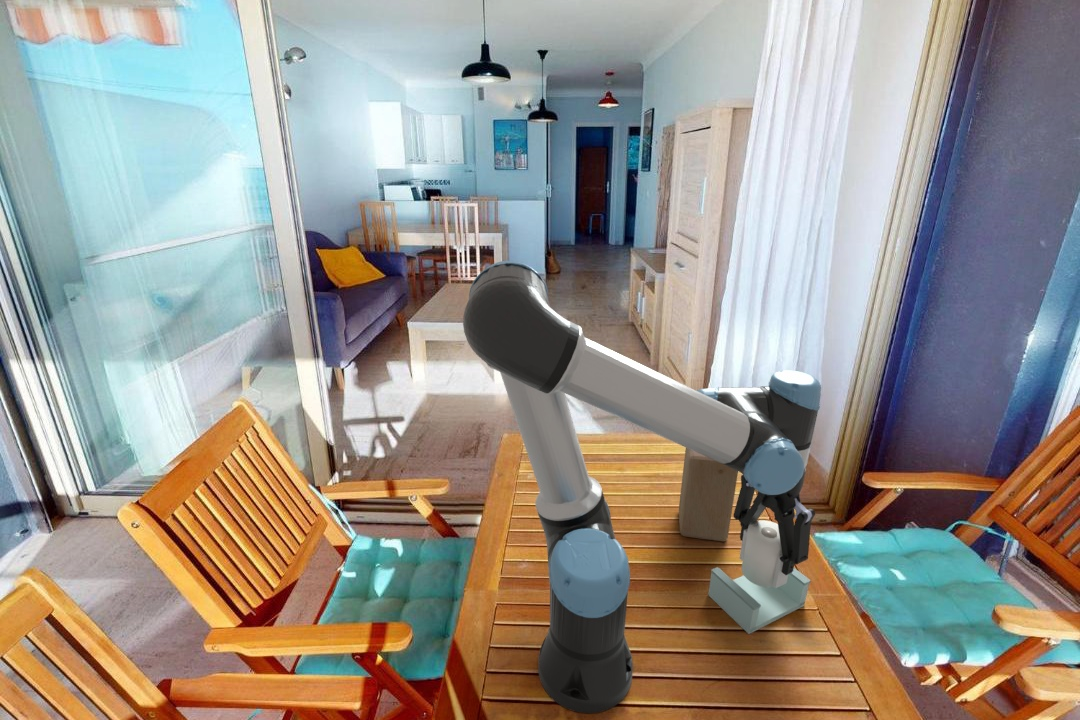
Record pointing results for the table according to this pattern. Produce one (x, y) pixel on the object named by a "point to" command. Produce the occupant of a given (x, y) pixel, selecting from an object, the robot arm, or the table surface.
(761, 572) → the roll
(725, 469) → the wooden block
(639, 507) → the table surface
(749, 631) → the cradle
